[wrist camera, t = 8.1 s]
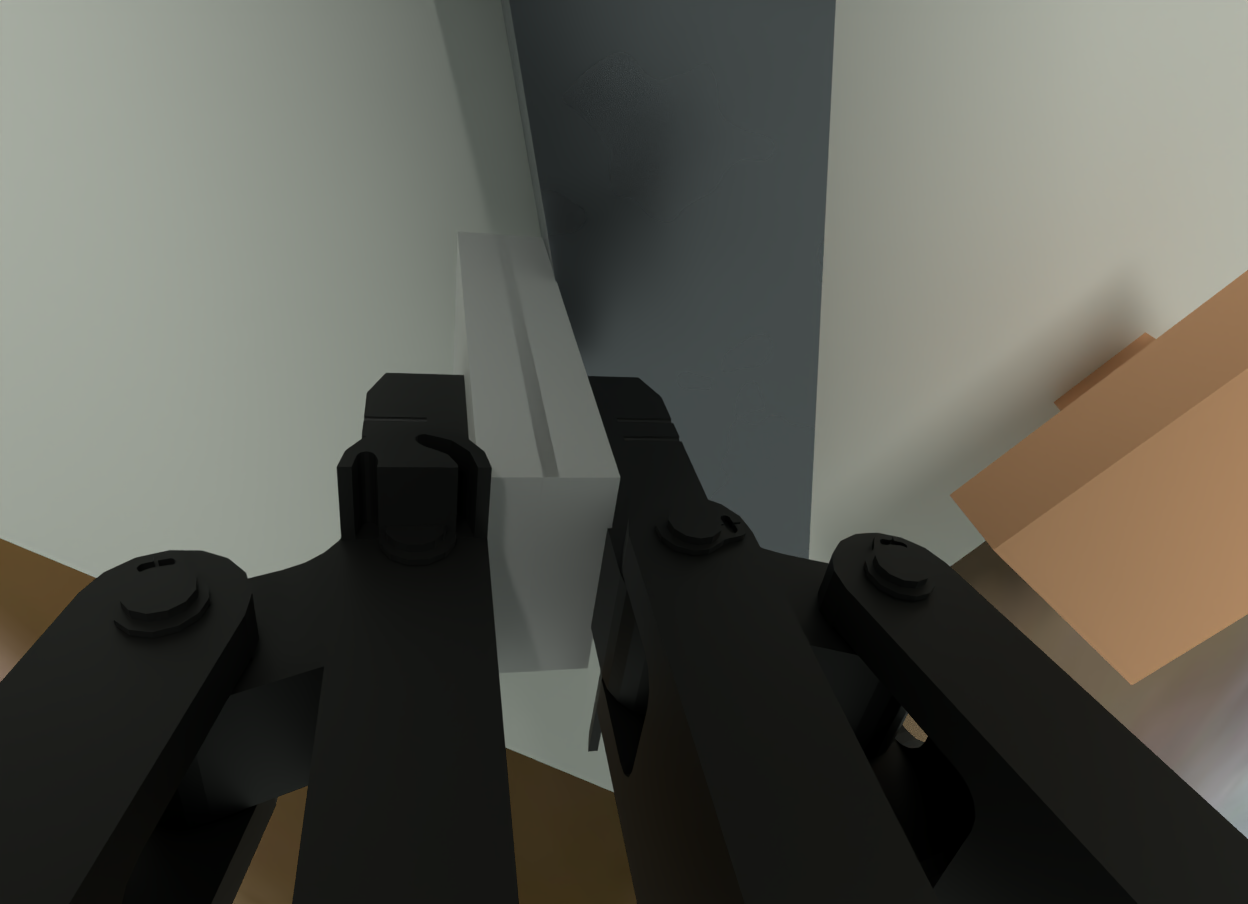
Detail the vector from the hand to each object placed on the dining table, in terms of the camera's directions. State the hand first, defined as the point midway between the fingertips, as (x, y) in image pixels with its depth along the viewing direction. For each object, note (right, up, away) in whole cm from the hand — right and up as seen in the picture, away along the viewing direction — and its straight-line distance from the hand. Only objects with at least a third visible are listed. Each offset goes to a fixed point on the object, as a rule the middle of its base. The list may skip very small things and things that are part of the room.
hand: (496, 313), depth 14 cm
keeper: (+12, +1, +5) cm, 13 cm away
